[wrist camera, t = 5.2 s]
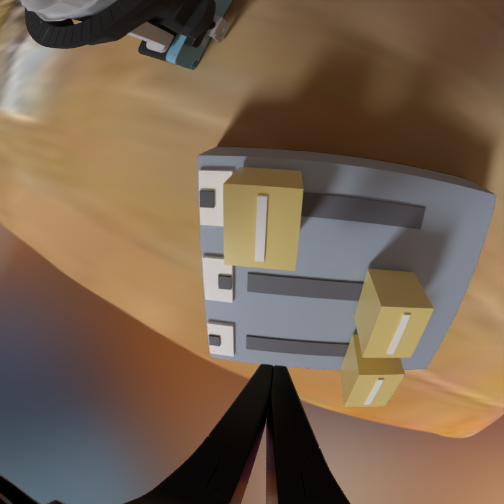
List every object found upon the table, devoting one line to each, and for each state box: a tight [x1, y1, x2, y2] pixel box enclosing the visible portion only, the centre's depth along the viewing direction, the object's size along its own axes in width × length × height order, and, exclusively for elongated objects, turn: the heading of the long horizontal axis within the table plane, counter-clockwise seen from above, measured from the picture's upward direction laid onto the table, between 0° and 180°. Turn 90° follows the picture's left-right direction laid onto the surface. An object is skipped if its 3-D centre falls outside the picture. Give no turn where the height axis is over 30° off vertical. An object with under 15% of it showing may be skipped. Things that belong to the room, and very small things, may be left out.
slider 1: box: [223, 167, 303, 271], centre depth 10 cm, size 2×3×3 cm
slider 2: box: [354, 268, 434, 358], centre depth 11 cm, size 2×3×3 cm
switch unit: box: [197, 147, 497, 370], centre depth 14 cm, size 14×12×3 cm
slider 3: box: [341, 334, 405, 407], centre depth 13 cm, size 2×3×3 cm
